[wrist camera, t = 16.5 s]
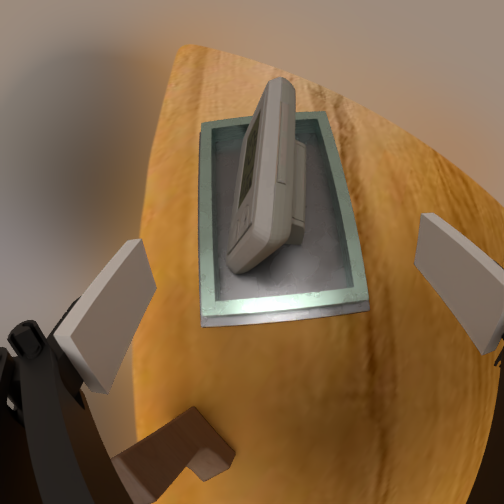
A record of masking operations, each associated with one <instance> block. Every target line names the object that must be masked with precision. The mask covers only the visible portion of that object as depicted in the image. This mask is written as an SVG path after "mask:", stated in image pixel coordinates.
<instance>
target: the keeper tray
mask: <svg viewBox="0 0 504 504" xmlns="http://www.w3.org/2000/svg"><path fill="white" fill-rule="evenodd" d="M252 117H253V116H248V117H239V118H231V119H224V120H217V121H211V122H204V123H201V132H200V139H199V174H198V258H199V293H200V317H201V327H203V328H206V327H224V326H239V325H253V324H265V323H276V322H286V321H296V320H305V319H314V318H322V317H330V316H338V315H345V314H352V313H359V312H366V311H369V310H370V307H369V296H368V289H367V282H366V276H365V270H364V264H363V258H362V253H361V247H360V242H359V237H358V232H357V227H356V222H355V218H354V213H353V209H352V204H351V200H350V196H349V192H348V188H347V184H346V180H345V176H344V172H343V168H342V165H341V161H340V158H339V154H338V151H337V147H336V144H335V140H334V137H333V134H332V130H331V127H330V124H329V121H328V118H327V115H326V112H325V111H318V112H295V139H296V140H297V141H299V142H301V143H303V144H305V146H306V208H305V233H304V237H303V241H302V244H301V245H293V244H283V245H282V246H281V247H280V248H278V249H277V250H276V251H275V252H273V253H272V254H271V255H269V256H268V257H267V258H265V259H264V260H263V261H262V262H260V263H259V264H258V265H256V266H255V267H254V268H252V269H251V270H249V271H248V272H245V273H243V274H234V273H233V272H232V271H231V270H230V269H229V268H228V266H227V265H226V253H227V245H228V237H229V230H230V222H231V215H232V208H233V201H234V194H235V187H236V180H237V173H238V166H239V160H240V153H241V147H242V142H243V139H244V136H245V133H246V131H247V128H248V126H249V124H250V121H251V119H252Z"/></svg>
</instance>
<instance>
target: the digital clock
mask: <svg viewBox="0 0 504 504" xmlns="http://www.w3.org/2000/svg"><path fill="white" fill-rule="evenodd" d="M295 109H296V98H295V88H294V87H293V85H292V84H291V83H290V82H289V81H288V80H287V79H285V78H283V77H278V78H275V79H273V80H270V81H269V82H268V83H267V85H266V87H265V89H264V92H263V94H262V96H261V98H260V101H259V103H258V105H257V108H256V110H255V112H254V114H253V117H252V119H251V121H250V124H249V126H248V128H247V131H246V133H245V136H244V139H243V142H242V147H241V153H240V160H239V166H238V173H237V180H236V187H235V194H234V201H233V208H232V215H231V222H230V230H229V237H228V245H227V253H226V265H227V266H228V268H229V269H230V270H231V271H232V272H233V273H234V274H243V273H245V272H248V271H249V270H251V269H252V268H254V267H255V266H256V265H258V264H259V263H260V262H262V261H263V260H264V259H265V258H267V257H268V256H269V255H271V254H272V253H273V252H275V251H276V250H277V249H278V248H280V247H281V246H282V245H283V244H293V245H301V244H302V241H303V237H304V233H305V208H306V146H305V144H303V143H301V142H299V141H297V140H296V139H295Z"/></svg>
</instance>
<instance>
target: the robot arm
mask: <svg viewBox="0 0 504 504" xmlns="http://www.w3.org/2000/svg"><path fill="white" fill-rule="evenodd" d="M414 265H415V266H416V267H417V268H418V270H419V271H420V272H421V273H422V274H423V276H424V277H425V278H426V279H427V281H428V282H429V283H430V284H431V285H432V287H433V288H434V289H435V291H436V292H437V293H438V294H439V296H440V297H441V298H442V300H443V301H444V302H445V303H446V305H447V306H448V307H449V309H450V310H451V311H452V313H453V314H454V316H455V317H456V318H457V320H458V321H459V322H460V324H461V325H462V327H463V328H464V330H465V331H466V332H467V334H468V335H469V337H470V338H471V340H472V341H473V343H474V344H475V346H476V347H477V349H478V350H479V352H480V353H481V355H484V354H487V353H489V352H492V351H494V350H495V349H496V347H497V346H498V344H499V342H500V340H501V338H502V339H503V340H504V270H503V268H502V267H501V266H500V265H499V264H498V263H497V262H495V261H494V260H492V259H491V258H490V257H489V256H488V255H487V254H485V253H484V252H483V251H482V250H481V249H479V248H478V247H477V246H476V245H475V244H473V243H472V242H471V241H470V240H469V239H467V238H466V237H465V236H464V235H462V234H461V233H460V232H458V231H457V230H456V229H455V228H453V227H452V226H451V225H449V224H448V223H447V222H445V221H444V220H443V219H441V218H440V217H439V216H437V215H436V214H434V213H421V219H420V227H419V235H418V242H417V249H416V255H415V261H414ZM156 289H157V287H156V284H155V281H154V278H153V275H152V272H151V269H150V265H149V262H148V259H147V255H146V252H145V248H144V245H143V241H142V239H134V240H128V241H127V242H126V243H125V244H124V245H123V246H122V247H121V248H120V250H119V251H118V252H117V253H116V254H115V256H114V257H113V258H112V259H111V260H110V261H109V263H108V264H107V265H106V266H105V267H104V269H103V270H102V271H101V272H100V273H99V275H98V276H97V277H96V278H95V280H94V281H93V282H92V283H91V285H90V286H89V287H88V288H87V290H86V291H85V292H84V293H83V295H82V296H80V297H79V298H78V299H77V300H75V301H74V302H73V303H72V304H71V306H70V307H69V308H68V310H67V312H66V313H65V314H64V315H63V317H62V319H60V321H59V322H58V323H57V325H56V326H55V328H54V329H53V330H52V332H51V333H50V334H49V336H48V337H47V339H46V338H45V336H44V335H43V333H42V331H41V330H40V328H39V326H38V324H37V323H36V321H34V320H27V321H24V322H22V323H20V324H19V325H17V326H16V327H15V328H14V329H13V330H12V331H11V332H10V334H9V336H8V339H7V340H8V342H9V343H10V345H11V346H12V348H13V349H14V351H15V352H16V354H17V355H18V356H16V357H12V356H11V355H10V353H9V352H8V351H7V349H6V348H4V347H0V504H134V503H133V501H132V499H131V498H130V496H129V494H128V492H127V491H126V489H125V487H124V485H123V483H122V481H121V480H120V478H119V476H118V474H117V472H116V470H115V468H114V466H113V464H112V462H111V460H110V457H109V455H108V453H107V451H106V449H105V447H104V445H103V442H102V440H101V438H100V435H99V432H98V430H97V428H96V425H95V422H94V420H93V417H92V415H91V412H90V409H89V406H88V403H87V401H86V398H85V395H84V393H83V392H82V391H81V389H80V388H81V385H82V384H83V381H84V382H85V384H86V385H87V386H88V388H89V389H90V390H91V391H92V392H96V393H103V394H109V391H110V389H111V387H112V384H113V382H114V379H115V377H116V375H117V372H118V370H119V368H120V365H121V363H122V361H123V358H124V356H125V354H126V352H127V350H128V347H129V345H130V343H131V341H132V339H133V336H134V334H135V332H136V330H137V328H138V326H139V324H140V321H141V319H142V317H143V315H144V313H145V311H146V309H147V307H148V305H149V303H150V301H151V299H152V297H153V295H154V293H155V291H156ZM500 360H501V364H500V366H499V367H500V378H499V386H498V393H497V399H496V405H495V410H494V415H493V420H492V425H491V429H490V433H489V437H488V441H487V445H486V449H485V452H484V455H483V459H482V462H481V465H480V468H479V471H478V474H477V477H476V480H475V482H474V485H473V488H472V490H471V493H470V495H469V498H468V500H467V502H466V504H504V347H503V349H502V351H501V352H500V354H499V356H498V358H497V359H496V361H495V364H494V366H496V365H497V364H498V362H499V361H500ZM7 397H8V398H9V399H10V400H11V402H12V403H13V404H14V409H13V410H12V409H11V408H10V407H9V406H8V405H7Z"/></svg>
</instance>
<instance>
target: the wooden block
mask: <svg viewBox="0 0 504 504" xmlns="http://www.w3.org/2000/svg"><path fill="white" fill-rule="evenodd" d="M234 456H235V452H234V451H233V450H232V449H231V448H230V447H229V446H228V445H227V444H226V443H225V441H224V440H223V439H222V438H221V437H220V436H219V435H218V434H217V433H216V431H215V430H214V429H213V428H212V427H211V426H210V425H209V423H208V422H207V421H206V420H205V419H204V418H203V416H202V415H201V414H200V413H199V412H198V410H197V409H196V408H195V407H191V408H190V409H188V410H187V411H185V412H184V413H182V414H181V415H179V416H178V417H176V418H175V419H173V420H172V421H170V422H169V423H167V424H166V425H164V426H163V427H161V428H160V429H158V430H157V431H155V432H154V433H152V434H150V435H149V436H147V437H146V438H144V439H143V440H141V441H139V442H138V443H136V444H134V445H133V446H131V447H130V448H128V449H126V450H125V451H123V452H121V453H120V454H118V455H116V456H114V457H113V458H111V459H110V460H111V462H112V464H113V466H114V468H115V470H116V472H117V474H118V476H119V478H120V480H121V481H122V483H123V485H124V487H125V489H126V491H127V492H128V494H129V496H130V498H131V499H132V501H133V503H134V504H151V503H153V502H156V501H157V500H158V499H159V497H160V496H161V495H162V494H163V493H164V492H165V491H166V489H167V488H168V487H169V486H170V485H171V484H172V482H173V481H174V480H175V479H176V478H177V477H178V475H179V474H180V473H181V472H182V471H183V469H184V468H185V467H188V468H189V469H191V470H192V471H193V472H194V473H195V474H196V475H197V476H198V477H199V478H200V479H201V480H202V481H203V482H204V481H207V480H209V479H211V478H212V477H214V476H216V475H218V474H220V473H221V472H223V471H225V470H227V469H229V468H230V466H231V464H232V461H233V459H234Z"/></svg>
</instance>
